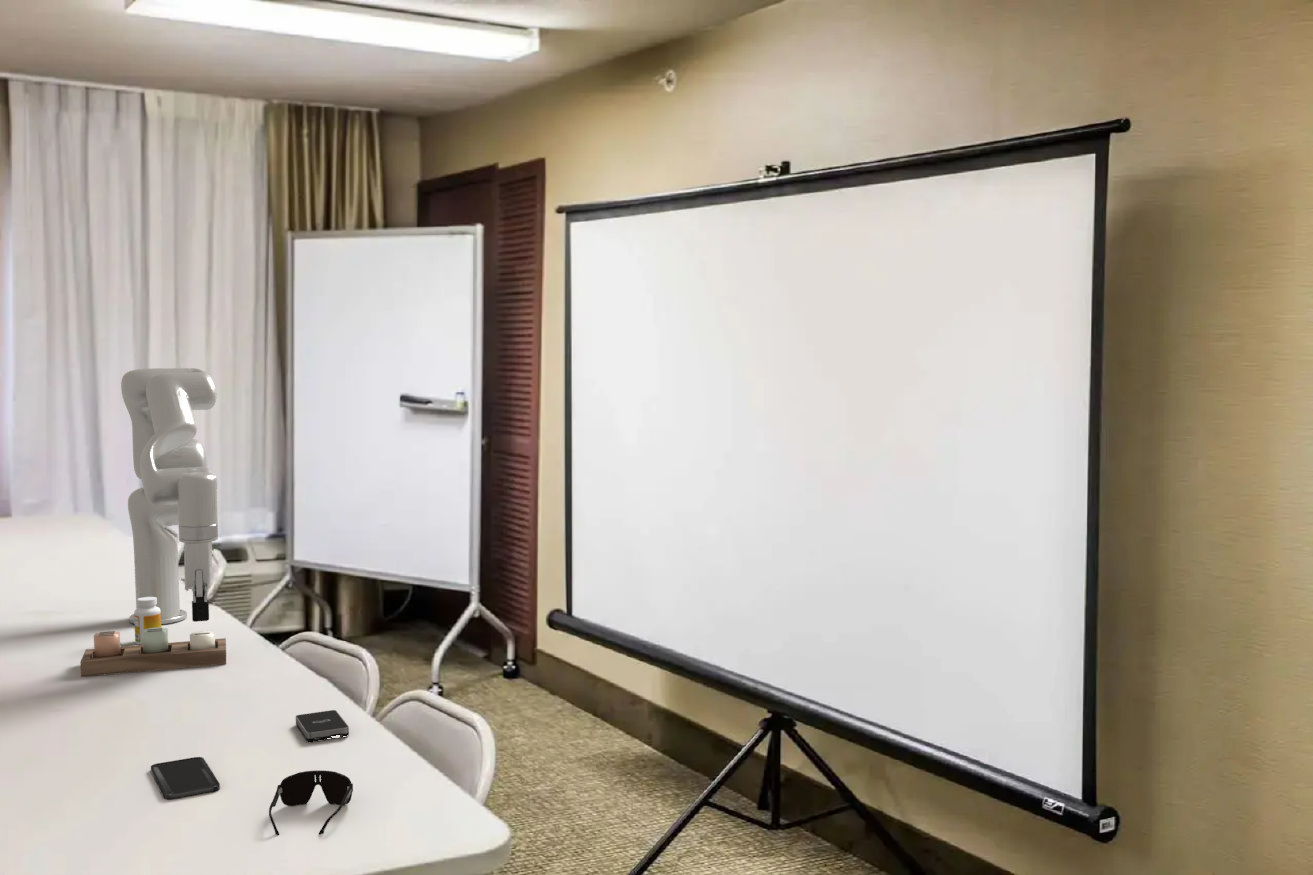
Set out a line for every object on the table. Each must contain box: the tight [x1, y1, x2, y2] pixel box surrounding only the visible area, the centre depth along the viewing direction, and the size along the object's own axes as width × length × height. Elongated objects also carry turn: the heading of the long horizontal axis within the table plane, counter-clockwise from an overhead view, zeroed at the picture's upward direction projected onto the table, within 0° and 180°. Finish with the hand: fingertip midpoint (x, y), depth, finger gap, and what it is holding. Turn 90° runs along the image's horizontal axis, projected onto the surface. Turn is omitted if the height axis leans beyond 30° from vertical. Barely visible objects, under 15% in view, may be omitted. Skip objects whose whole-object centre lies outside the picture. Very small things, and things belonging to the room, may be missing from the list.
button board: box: [79, 637, 227, 677], centre depth 251 cm, size 10×27×3 cm, turn 109°
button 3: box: [93, 630, 121, 657], centre depth 248 cm, size 5×5×4 cm
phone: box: [150, 756, 221, 801], centre depth 186 cm, size 8×1×15 cm
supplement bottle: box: [133, 597, 162, 645], centre depth 269 cm, size 5×5×10 cm
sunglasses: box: [268, 769, 354, 836], centre depth 171 cm, size 10×12×5 cm
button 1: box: [189, 630, 216, 650], centre depth 254 cm, size 5×5×4 cm
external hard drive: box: [295, 709, 350, 743], centre depth 209 cm, size 7×11×2 cm, turn 26°
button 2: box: [142, 627, 169, 653], centre depth 251 cm, size 5×5×4 cm
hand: (200, 620), depth 254 cm, fingers closed
